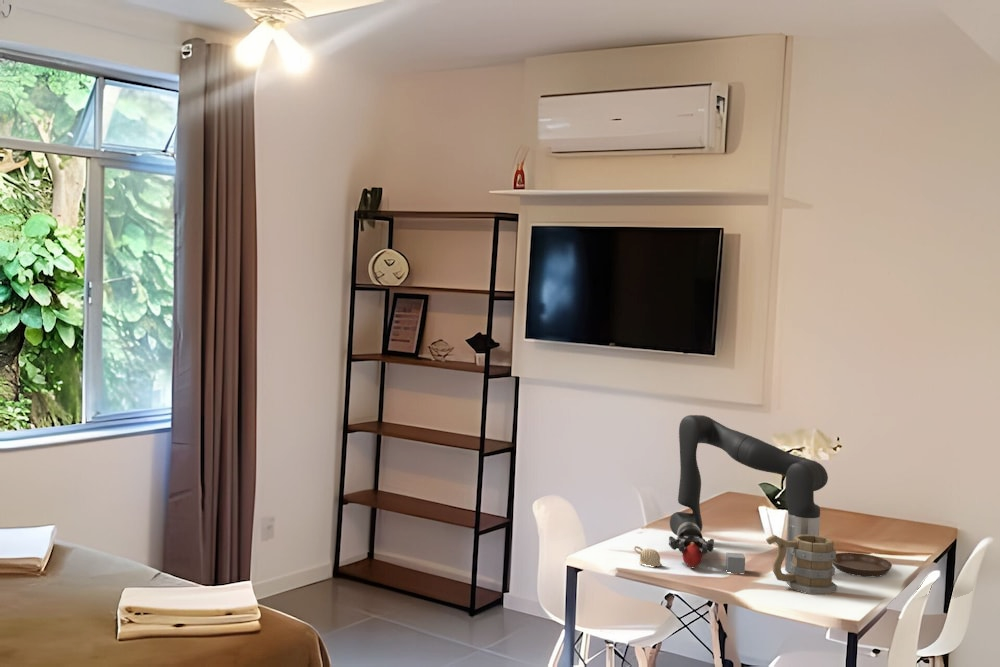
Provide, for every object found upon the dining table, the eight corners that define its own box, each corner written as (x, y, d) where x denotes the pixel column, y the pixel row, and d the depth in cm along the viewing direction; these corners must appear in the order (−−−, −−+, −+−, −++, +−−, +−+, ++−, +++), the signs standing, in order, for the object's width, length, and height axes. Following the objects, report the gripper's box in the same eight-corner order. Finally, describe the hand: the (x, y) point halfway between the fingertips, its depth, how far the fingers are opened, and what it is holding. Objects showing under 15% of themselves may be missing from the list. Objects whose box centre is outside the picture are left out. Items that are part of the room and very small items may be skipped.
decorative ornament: (658, 569, 292) (659, 551, 292) (632, 564, 296) (632, 547, 295) (662, 566, 296) (663, 548, 295) (636, 561, 299) (637, 544, 299)
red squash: (688, 564, 298) (688, 538, 297) (705, 567, 294) (706, 541, 294) (678, 568, 293) (679, 542, 293) (696, 572, 290) (696, 545, 289)
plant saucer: (883, 583, 286) (883, 572, 286) (822, 571, 296) (822, 561, 296) (897, 569, 301) (898, 560, 301) (839, 558, 311) (839, 549, 311)
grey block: (742, 570, 294) (743, 553, 294) (744, 574, 289) (745, 558, 289) (725, 568, 295) (726, 552, 295) (727, 573, 290) (727, 556, 290)
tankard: (824, 581, 285) (827, 530, 284) (841, 595, 273) (844, 541, 272) (757, 579, 284) (759, 528, 284) (770, 593, 272) (773, 540, 271)
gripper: (666, 523, 308) (669, 536, 292) (713, 525, 307) (718, 539, 290) (666, 546, 309) (668, 561, 292) (712, 549, 307) (717, 564, 290)
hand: (693, 550), depth 291 cm, fingers closed on red squash, 5 cm apart
